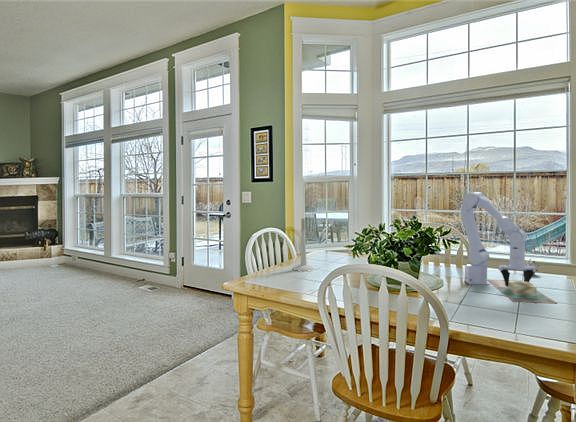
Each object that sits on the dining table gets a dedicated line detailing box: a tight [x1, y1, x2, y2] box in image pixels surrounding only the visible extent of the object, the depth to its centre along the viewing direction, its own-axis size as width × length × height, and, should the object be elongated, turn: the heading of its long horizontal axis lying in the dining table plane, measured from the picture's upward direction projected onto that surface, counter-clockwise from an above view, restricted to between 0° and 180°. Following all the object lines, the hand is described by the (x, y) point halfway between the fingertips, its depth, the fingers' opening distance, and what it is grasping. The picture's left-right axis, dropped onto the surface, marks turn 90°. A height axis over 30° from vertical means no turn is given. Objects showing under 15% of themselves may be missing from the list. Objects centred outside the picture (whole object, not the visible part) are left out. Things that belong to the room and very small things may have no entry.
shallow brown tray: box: [487, 278, 558, 304], centre depth 162 cm, size 16×34×1 cm, turn 168°
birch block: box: [508, 280, 537, 296], centre depth 158 cm, size 8×8×4 cm
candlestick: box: [292, 218, 316, 272], centre depth 210 cm, size 13×13×30 cm
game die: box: [524, 258, 540, 275], centre depth 189 cm, size 9×8×10 cm
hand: (516, 286), depth 164 cm, fingers open, 7 cm apart
